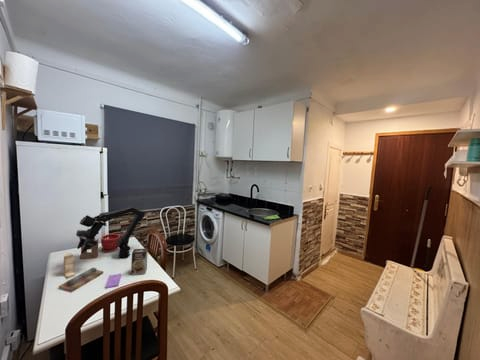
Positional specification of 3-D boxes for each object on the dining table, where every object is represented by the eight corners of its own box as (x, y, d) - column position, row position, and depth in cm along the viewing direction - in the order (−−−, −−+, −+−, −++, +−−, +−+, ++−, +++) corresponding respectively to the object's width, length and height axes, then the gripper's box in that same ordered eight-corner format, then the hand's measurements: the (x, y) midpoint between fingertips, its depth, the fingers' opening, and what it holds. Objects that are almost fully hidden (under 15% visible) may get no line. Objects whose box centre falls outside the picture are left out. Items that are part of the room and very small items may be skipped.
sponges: (121, 275, 129) (121, 273, 129) (118, 287, 118) (118, 284, 118) (109, 277, 126) (109, 275, 126) (104, 289, 115) (104, 286, 115)
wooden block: (96, 257, 149) (96, 235, 147) (79, 259, 145) (79, 236, 143) (98, 255, 152) (98, 233, 151) (81, 257, 148) (82, 234, 147)
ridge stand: (91, 270, 132) (91, 265, 131) (103, 273, 130) (103, 267, 129) (58, 288, 112) (58, 282, 112) (72, 292, 110) (72, 285, 110)
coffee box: (130, 275, 130) (131, 252, 128) (133, 270, 136) (133, 248, 134) (145, 274, 132) (146, 252, 131) (147, 269, 138) (147, 247, 137)
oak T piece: (62, 271, 129) (62, 253, 128) (70, 269, 132) (70, 251, 131) (67, 278, 122) (67, 259, 121) (75, 276, 125) (75, 257, 124)
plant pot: (108, 254, 154) (108, 240, 153) (97, 251, 159) (97, 237, 158) (123, 248, 166) (123, 235, 165) (112, 245, 171) (112, 232, 170)
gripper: (79, 222, 137) (63, 243, 131) (87, 228, 125) (70, 252, 119) (94, 227, 144) (80, 247, 138) (103, 234, 133) (88, 256, 127)
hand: (79, 250), depth 131 cm, fingers open, 9 cm apart
